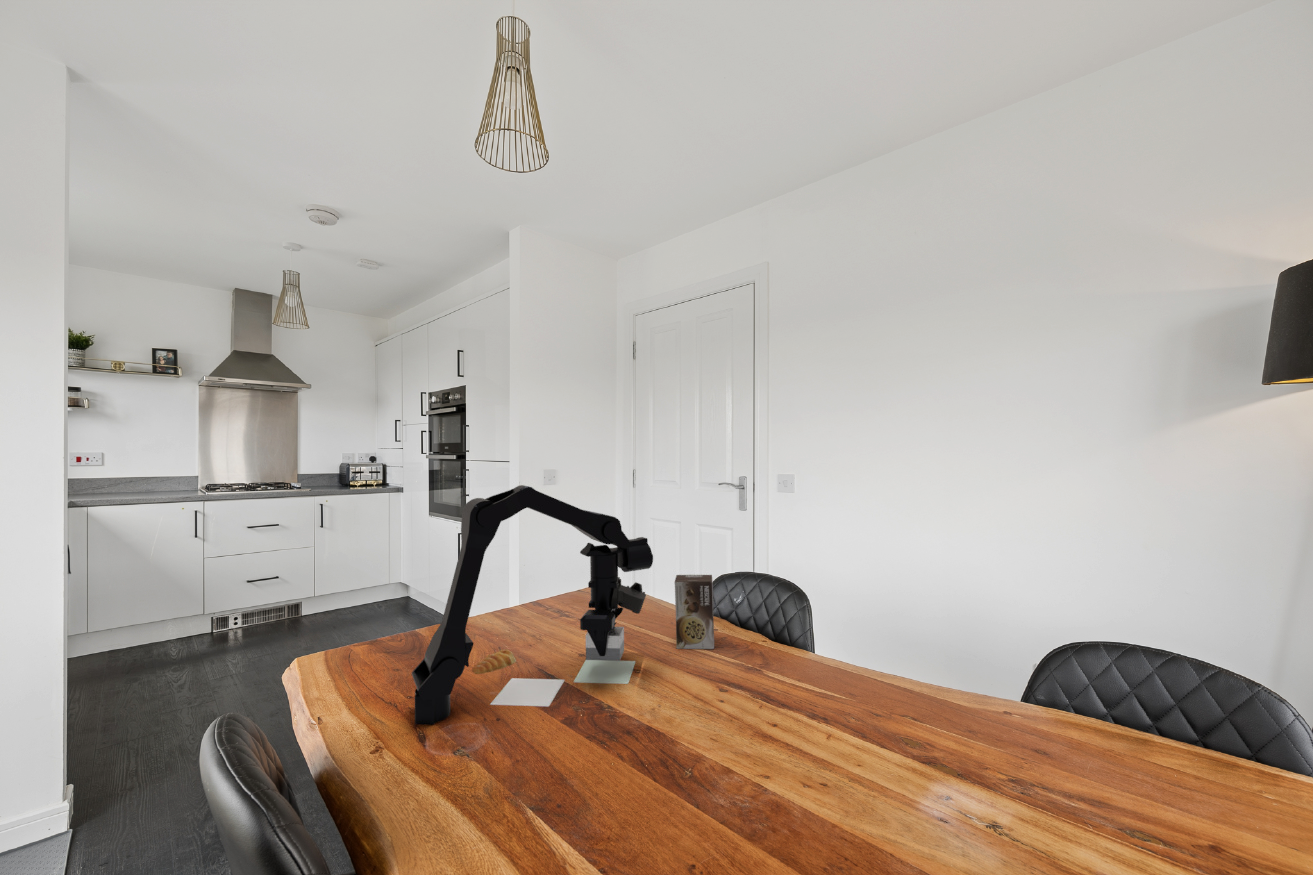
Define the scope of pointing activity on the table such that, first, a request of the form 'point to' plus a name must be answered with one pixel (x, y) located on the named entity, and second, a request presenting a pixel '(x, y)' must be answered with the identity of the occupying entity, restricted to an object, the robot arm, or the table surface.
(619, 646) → the block
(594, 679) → the stand
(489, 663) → the pastry
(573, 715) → the table surface
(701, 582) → the coffee box
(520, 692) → the stand
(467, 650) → the robot arm
